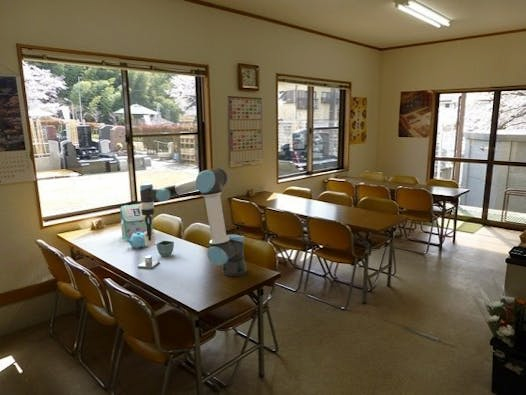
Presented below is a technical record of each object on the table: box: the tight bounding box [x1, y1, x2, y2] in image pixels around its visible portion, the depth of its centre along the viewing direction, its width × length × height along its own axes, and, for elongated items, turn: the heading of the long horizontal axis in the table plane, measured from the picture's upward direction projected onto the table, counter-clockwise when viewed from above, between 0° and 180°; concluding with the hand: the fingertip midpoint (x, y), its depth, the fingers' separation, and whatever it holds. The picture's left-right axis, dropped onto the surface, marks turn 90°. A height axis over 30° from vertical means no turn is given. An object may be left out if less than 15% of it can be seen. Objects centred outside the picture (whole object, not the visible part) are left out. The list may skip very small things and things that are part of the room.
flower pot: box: [155, 240, 175, 257], centre depth 266 cm, size 9×9×9 cm
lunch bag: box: [119, 203, 154, 240], centre depth 306 cm, size 23×16×27 cm
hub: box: [137, 255, 161, 270], centre depth 247 cm, size 10×10×6 cm
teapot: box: [124, 232, 147, 250], centre depth 284 cm, size 15×14×11 cm
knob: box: [144, 230, 156, 247], centre depth 245 cm, size 6×6×8 cm
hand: (149, 243), depth 246 cm, fingers closed on knob, 6 cm apart
